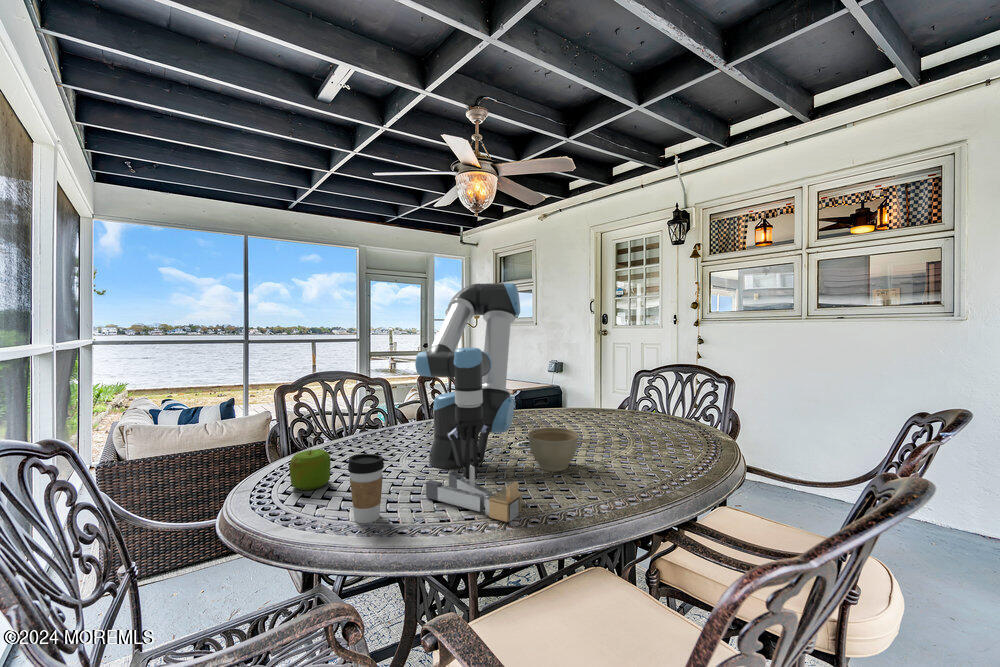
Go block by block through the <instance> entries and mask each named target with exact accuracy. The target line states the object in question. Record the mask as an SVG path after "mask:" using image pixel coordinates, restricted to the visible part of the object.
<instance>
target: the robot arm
mask: <svg viewBox="0 0 1000 667" xmlns="http://www.w3.org/2000/svg"><path fill="white" fill-rule="evenodd" d="M519 295H520V294H519V289H518V287H517V285H516V284H515V283H513V282H512V283H511V282H501V283H499V282H496V283H493V282H491V283H490V282H489V283H473V284H469V285H467V286H466V287H463V288H462V289H461V290H459V291H458V292H457V293H456V294H455V295H454V296H453V297H452V298H451V300H450V301H449V303H448V306H447V311H448V312H447V314H446V316H445V318H444V320H443V322H442V324H441V326H440V328H439V330H438V332H437V333H436V336H435V338H434V340H433V342H432V344H431V346H430V348H429V350H428V351H427V350H425V351H420V352H418V353H417V355H416V357H415V366H414V367H415V370H416V373H417V374H418V375H419V376H420V377H429V378H454V391H451V392H446V393H441V394H438V395H436V396H435V398H434V399H433V409H432V411H433V412H432V413H433V441H432V445H431V449H430V452H429V454H428V455H429V456H428V464H430V466H432V467H435V468H439V469H458V468H462V472H463V473H462V474H463V475H462V478H464V479H466V480H469V481H470V482H473V483H475V484H476V482H475V481H476V478H477V477H478V467H479V466H480V464H481V463H483V462H484V459H485V454H486V450H487V444H488V439H489V435H490V433H492V434H504V433H507V432H508V431H509V429H510V428H511V425H512V424H513V418H514V415H515V414H514V413H515V399H514V398H513V397H511V392H510V391H509V389H508V388H507V380H508V378H507V376H508V364H509V363H508V362H509V349H510V339H511V338H510V337H511V336H510V334H511V324H512V323H514V322H515V321H516V316H519V315H520V314H521V303H520V302H521V301H520V296H519ZM474 316H482V318H483V320H484V321H485V322H486V326H485V334H484V347H483V350H481V348H478V347H460V348H458V346H459V343H460V341H461V338H462V336H463V333H464V331H465V328H466V326H467V324H468V321H470V320H472V318H473V317H474Z"/></svg>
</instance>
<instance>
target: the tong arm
mask: <svg viewBox="0 0 1000 667" xmlns="http://www.w3.org/2000/svg"><path fill="white" fill-rule="evenodd" d="M448 486H449V487H453V488H457V489H461V490H465V491H469V492H473V493H477V494H481V495H484V507H485V495H487V494H493V491H492V490H489V489H487V488H485V487H484V486H481V485H480V484H479V485H478V484H477V483H476V482H475V483H473V482H470V481H469V480H466V479H465V478H464V477H463V475H462V474H460V473H458V472H456V471H451V472H448Z"/></svg>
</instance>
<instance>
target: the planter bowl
mask: <svg viewBox="0 0 1000 667" xmlns="http://www.w3.org/2000/svg"><path fill="white" fill-rule="evenodd" d="M527 437H528V442H529V443H528V444H529V448H530V452H531V454H532V456H533V458H534V460H535V461H536V463H537V466H538V468H539V469H541V470H543V471H547V472H562V471H565V470H567V469H568V468H569V464H570V463H571V461H572V460H573V458H574V457H575V455H576V452H577V449H578V443H579V442H578V440H579V434H578V432H576V431H575V430H571V429H568V428H562V427H539V428H536V429H531V430H530V431H528V435H527Z"/></svg>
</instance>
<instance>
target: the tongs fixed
mask: <svg viewBox="0 0 1000 667" xmlns="http://www.w3.org/2000/svg"><path fill="white" fill-rule="evenodd" d="M496 493H497V492H494V493H492V494H487V495H485V506H484V495H481V494H477V493H473V492H469V491H465V490H461V489H457V488H453V487H449V485H443V482H441V481H436V480H434V479H430V480H427V481H425V497H426V498H427V499H430V500H435V501H437V502H441V503H446V504H449V505H453V506H457V507H461V508H464V509H468V510H472V511H475V512H483V510H484V511H485V512H484V514H485V515H484V516H488V517H489V498H490V497H491V496H493V495H494V494H496ZM519 513H520V512H519V499H515V500H514V501H513V502H511V503H510V504H509V521H508V522H511V521H513V520H514V519H516V517H518V516H520V514H519Z"/></svg>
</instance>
